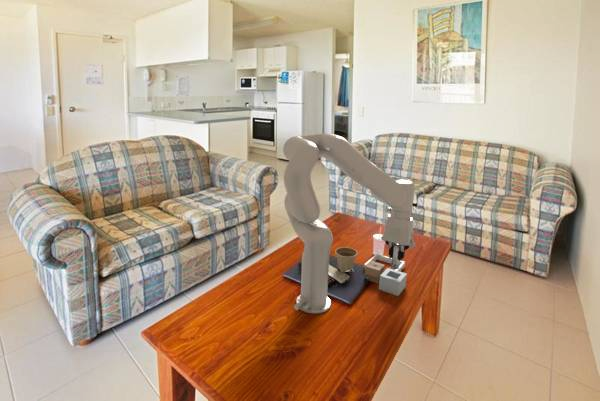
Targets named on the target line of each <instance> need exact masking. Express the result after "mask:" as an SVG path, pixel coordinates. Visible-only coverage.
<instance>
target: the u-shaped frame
mask: <svg viewBox="0 0 600 401" xmlns="http://www.w3.org/2000/svg"><path fill="white" fill-rule="evenodd" d="M377 260H378V261H381V262H384V263H387V264H390V265H391V263H392V258H389V256H386V255H384V254H383V255H379V254H376V255H374V254H373V256H372V257H371V258H370V259H368V261H366V262H365V263H364V264H363V268H364V267H365V266H366V265H367V264H368V263H370V262H371V261H374V262H376V261H377ZM405 267H406V261H404V260H401V261H400V263H399V269H395V270H396V271H400V272H402V270H403V269H404V268H405Z"/></svg>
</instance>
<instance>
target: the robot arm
mask: <svg viewBox="0 0 600 401" xmlns="http://www.w3.org/2000/svg"><path fill="white" fill-rule="evenodd" d="M282 153H283V155H284V156H285V158H286V159H287V160H288V162H287V165H286V167H285V168H284V171H283V172H284V173H283V184H284V187H285V190H286V194H285V197H284V200H283V203H284V208H285V209H284V210H285V211H286V214H287V215H288V218H289V221H290V223H291V227H292V229H293V230H294V233H295V234H296V235H297V237H298V238H299V240H301V241H302V242H303V244H304V250H303V252H302V255H301V273H300V274H301V277H300V278H301V280H300V281H301V282H300V283H301V284H300V295H298V296H297V297H296V300H295V301H296V304H294V305H293V308H294V309H295V310H296V311H298V310H301V311H302V312H304V313H308V314H314V315H315V314H316V315H317V314H322V313H325V312H327V311H328V310H329V309H330V308H331V305H332V300H331V299H330V298H329V297H328V285H329V268H330V254H331V250H332V246H333V241H334V238H333V233H332V231H331V229H330V228H329V227H328V225H327V224H325V223H324V221H321V220H320V216H321V205H320V202H319V200H318V198H317V195H316V192H315V189H314V187H313V183H312V179H311V178H312V177H311V175H312V172H313V170H314V168H315V167H316V165H317V163H318V161H319V159H322V158H324V159H326V160H328V161H329V162H331V164H333V165H334V166H336V167H337V168H338V169H339V170H340V171H341V172H343V174H345V175H346V176H347V177H349V178H350V179H351V180H352V181H354V183H357V184H358V185H360V186H361V187H364V188H365V189H368V190H369V193H370V195H371V197H373V198H374V199H375V200H376V201H378V202H380V203H382V204H384V205H386V206H388V207H387V209H386V211H387V212H389V214H388V215H387V217H386V221H385V223H384V224H385V226H384V229H383V234H382V235H383V236H382V237H381V239H382V240H383V241H385V245H387V248H388V255H389V256H388V257H389V258H392V253H393V244H394V243H396V244H400V245H401V250H400V251H399V258H398V260H399V261H403V259H404V258H405V253H406V250H408V249H412V248H415V246H416V243H415V240H414V219H413V217H412V214H413V204H414V195H415V188H416V186H415V183H414V182H413V181H412V180H408V179H397V180H395V179H393V177H392V176H390V175H389V174H387V173H386V172H384V171H383V170H382V169H380V168H379V167H378V166H377V165H376V164H374V163H373V162H372V161H371V160H369V159H368V158H367V157H366V156H365V155H364V154H362V152H360V151H359V150H358V149H357V148H356V147H355V146H354V145H352V144H351V143H350V142H349V141H348V140H347V139H346V138H344V137H343V136H340V135H338V134H333V133H330V132H329V133H328V132H327V133H326V132H324V133H314V134H306V135H304V134H303V135H294V136H292V137H289V138H288V139H287V140H286V141H285V142H284V144H283V147H282Z"/></svg>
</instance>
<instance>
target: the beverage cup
mask: <svg viewBox="0 0 600 401" xmlns="http://www.w3.org/2000/svg"><path fill="white" fill-rule="evenodd" d="M382 236H383V234H382V226H380V227H379V233H376V234H373V235H372V239H373V243H372V244H373V249H372V254H373V256H374V255H376V254H379V255H383V256H384V251H385V245H386V242H385V241H383V240H382V239H381V237H382Z"/></svg>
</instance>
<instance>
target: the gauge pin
mask: <svg viewBox="0 0 600 401" xmlns="http://www.w3.org/2000/svg"><path fill="white" fill-rule="evenodd" d="M400 250H401V245H400V244H396V243H394V244H393V253H392V263H391V264H390V265H391V266H390V269H393V270H396V269H399V263H400V261H399V260H398V258H399V251H400Z"/></svg>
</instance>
